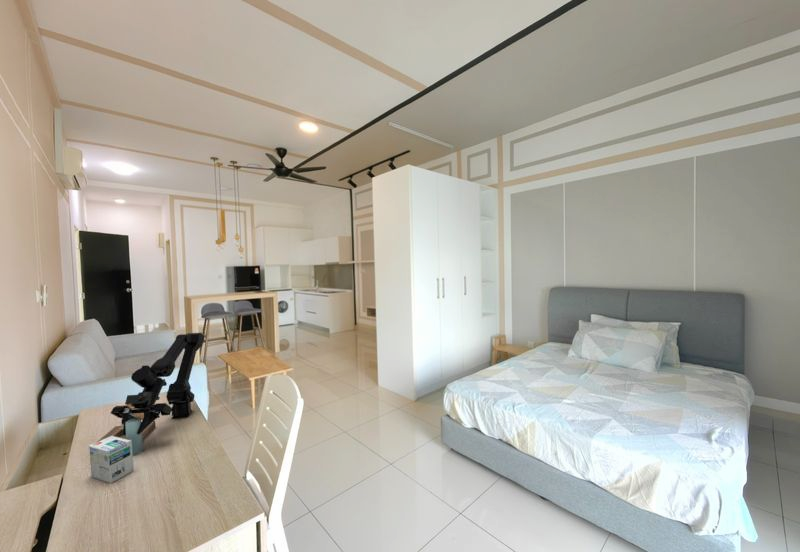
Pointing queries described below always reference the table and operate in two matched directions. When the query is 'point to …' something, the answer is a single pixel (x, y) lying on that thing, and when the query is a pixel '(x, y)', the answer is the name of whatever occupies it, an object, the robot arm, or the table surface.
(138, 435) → the stool leg
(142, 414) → the sunglasses case
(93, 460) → the light bulb box
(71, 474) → the table surface
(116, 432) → the brown flat square frame
